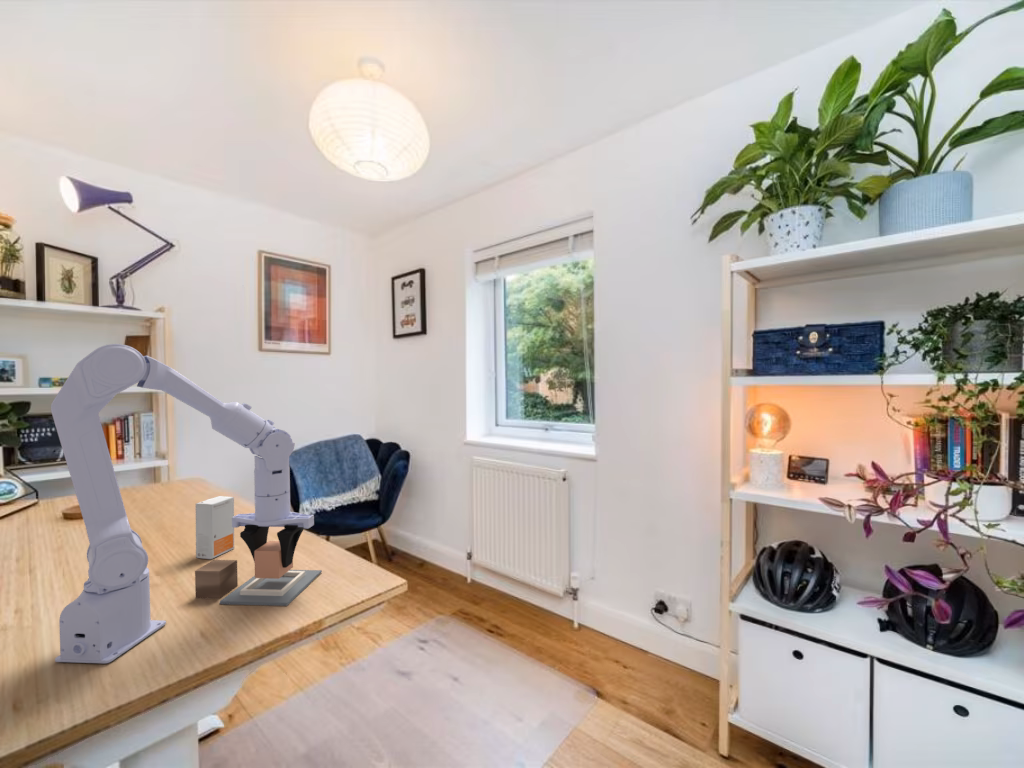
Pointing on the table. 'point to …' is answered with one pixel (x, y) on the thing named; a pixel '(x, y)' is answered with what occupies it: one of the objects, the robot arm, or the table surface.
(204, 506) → the skincare box
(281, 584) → the board
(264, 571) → the terracotta block
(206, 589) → the walnut block
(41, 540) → the table surface
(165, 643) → the table surface
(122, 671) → the table surface
